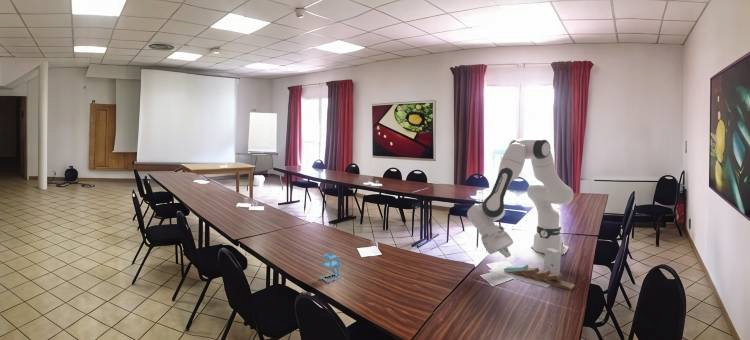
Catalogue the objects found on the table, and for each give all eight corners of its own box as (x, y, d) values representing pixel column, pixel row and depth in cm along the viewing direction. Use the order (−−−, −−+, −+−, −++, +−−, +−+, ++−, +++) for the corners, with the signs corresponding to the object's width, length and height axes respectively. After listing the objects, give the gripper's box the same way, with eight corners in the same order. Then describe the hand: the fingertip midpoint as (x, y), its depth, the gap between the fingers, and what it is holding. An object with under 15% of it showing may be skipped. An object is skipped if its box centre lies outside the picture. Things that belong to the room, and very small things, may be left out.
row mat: (501, 265, 189) (501, 264, 189) (558, 280, 169) (558, 279, 169) (488, 272, 180) (488, 270, 180) (547, 288, 160) (547, 287, 160)
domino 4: (534, 277, 168) (556, 275, 160) (539, 274, 171) (561, 272, 164) (535, 280, 167) (557, 279, 160) (540, 277, 171) (562, 276, 164)
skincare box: (543, 272, 178) (544, 248, 177) (550, 271, 180) (551, 247, 179) (552, 277, 173) (553, 252, 172) (560, 276, 174) (561, 251, 173)
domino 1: (503, 268, 178) (523, 267, 171) (508, 266, 182) (527, 264, 175) (504, 272, 178) (523, 270, 171) (509, 269, 182) (528, 267, 174)
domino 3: (523, 274, 171) (544, 272, 164) (528, 271, 175) (549, 269, 167) (524, 277, 171) (546, 276, 164) (529, 274, 174) (550, 273, 167)
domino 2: (513, 271, 175) (533, 269, 168) (518, 268, 178) (538, 267, 171) (514, 274, 174) (534, 273, 167) (519, 272, 178) (539, 270, 171)
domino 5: (546, 279, 164) (570, 287, 157) (551, 276, 167) (575, 284, 160) (546, 283, 164) (570, 291, 157) (550, 280, 167) (574, 288, 160)
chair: (343, 278, 174) (343, 253, 173) (330, 283, 168) (329, 257, 167) (332, 274, 179) (332, 249, 178) (319, 278, 173) (319, 253, 172)
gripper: (484, 233, 176) (502, 258, 170) (504, 226, 190) (522, 248, 184) (475, 240, 179) (493, 265, 173) (496, 233, 194) (513, 255, 187)
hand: (508, 256), depth 179 cm, fingers closed
